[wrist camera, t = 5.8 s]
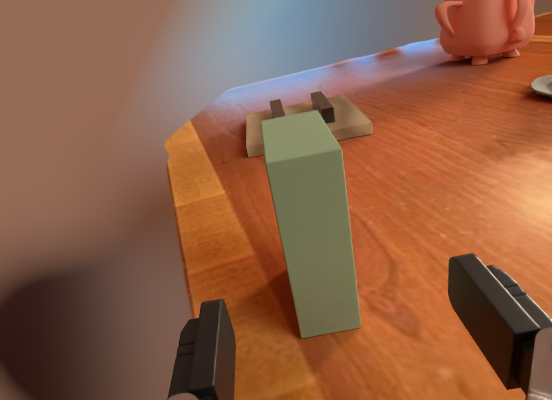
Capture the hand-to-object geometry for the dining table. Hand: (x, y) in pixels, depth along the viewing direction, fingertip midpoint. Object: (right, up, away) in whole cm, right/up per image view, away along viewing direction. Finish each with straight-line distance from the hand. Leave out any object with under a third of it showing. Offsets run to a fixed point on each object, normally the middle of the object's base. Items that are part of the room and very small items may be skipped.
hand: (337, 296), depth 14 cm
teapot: (+38, +31, +63) cm, 80 cm away
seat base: (+2, +14, +43) cm, 46 cm away
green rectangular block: (+1, -3, +12) cm, 12 cm away
